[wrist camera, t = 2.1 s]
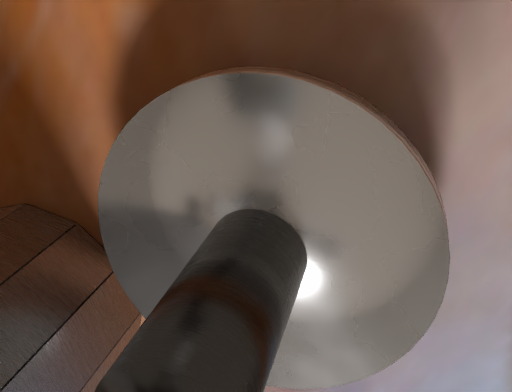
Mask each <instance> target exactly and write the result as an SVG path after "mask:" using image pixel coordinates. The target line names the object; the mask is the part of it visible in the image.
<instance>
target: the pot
mask: <svg viewBox="0 0 512 392" xmlns="http://www.w3.org/2000/svg"><path fill="white" fill-rule="evenodd" d="M140 321H141V313H140V312H139V310H138V309H137V308H136V307H135V305H134V304H133V303H132V302H131V300H130V299H129V297H128V296H127V294H126V293H125V291H124V290H123V288H122V287H121V285H120V283H119V281H118V279H117V277H116V275H115V273H114V271H113V270H112V267H111V265H110V262H109V259H108V257H107V254H106V252H105V249H104V248H103V247H102V246H101V245H100V244H99V243H98V242H97V241H96V240H95V239H94V238H93V237H92V236H90V235H89V234H88V233H87V232H86V231H85V230H84V229H83V228H82V227H81V226H80V225H79V224H77V225H76V222H73V221H70V220H68V219H65V218H62V217H60V216H57V215H54V214H52V213H49V212H46V211H44V210H41V209H39V208H36V207H33V206H31V205H28V204H21V205H16V206H10V207H5V208H0V392H95V389H96V387H97V385H98V384H99V382H100V381H101V379H102V378H103V377H104V375H105V374H106V373H107V371H108V370H109V369H110V367H111V366H112V364H113V363H114V362H115V360H116V359H117V358H118V356H119V355H120V354H121V352H122V351H123V350H124V348H125V347H126V346H127V344H128V343H129V341H130V340H131V339H132V337H133V336H134V335H135V333H136V332H137V331H138V329H139V328H140Z"/></svg>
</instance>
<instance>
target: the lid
mask: <svg viewBox="0 0 512 392" xmlns="http://www.w3.org/2000/svg"><path fill="white" fill-rule="evenodd" d="M98 218H99V225H100V233H101V237H102V241H103V244H104V248H105V252H106V254H107V257H108V259H109V262H110V265H111V267H112V270H113V271H114V273H115V275H116V277H117V279H118V281H119V283H120V285H121V287H122V288H123V290H124V291H125V293H126V294H127V296H128V297H129V299H130V300H131V302H132V303H133V304H134V305H135V307H136V308H137V309H138V310H139V312H140V313H141V314H142V315H143V317H144V318H145V319H146V320H145V321H144V323H143V324H142V325H141V327H140V328H139V329H138V331H137V332H136V333H135V335H134V336H133V337H132V339H131V340H130V341H129V343H128V344H127V346H126V347H125V348H124V350H123V351H122V352H121V354H120V355H119V356H118V358H117V359H116V360H115V362H114V363H113V364H112V366H111V367H110V369H109V370H108V371H107V373H106V374H105V375H104V377H103V378H102V379H101V381H100V382H99V384H98V385H97V387H96V389H95V392H263V391H264V388H265V386H272V387H278V388H289V389H318V388H327V387H333V386H340V385H344V384H347V383H351V382H354V381H358V380H361V379H363V378H366V377H368V376H371V375H373V374H375V373H378V372H379V371H381V370H383V369H385V368H386V367H388V366H390V365H391V364H393V363H395V362H396V361H397V360H398V359H400V358H401V357H402V356H404V355H405V354H406V353H407V352H409V351H410V350H411V349H412V348H413V347H414V345H415V344H416V343H417V342H418V341H419V340H420V339H421V338H422V337H423V336H424V334H425V333H426V331H427V330H428V328H429V327H430V325H431V324H432V322H433V321H434V319H435V317H436V314H437V312H438V310H439V308H440V305H441V303H442V301H443V298H444V294H445V290H446V286H447V282H448V275H449V263H450V252H449V240H448V229H447V219H446V215H445V210H444V206H443V202H442V198H441V195H440V192H439V190H438V187H437V185H436V183H435V180H434V178H433V175H432V173H431V171H430V170H429V168H428V166H427V165H426V163H425V161H424V159H423V158H422V156H421V154H420V153H419V151H418V150H417V149H416V147H415V146H414V145H413V144H412V142H411V141H410V140H409V139H408V137H407V136H406V135H405V134H404V133H403V131H402V130H401V129H400V128H399V127H397V126H396V125H395V124H394V123H393V122H392V121H391V120H390V119H389V118H388V117H387V116H386V115H385V114H384V113H383V112H381V111H380V110H378V109H377V108H376V107H374V106H373V105H371V104H370V103H369V102H367V101H366V100H365V99H363V98H362V97H360V96H358V95H356V94H355V93H353V92H351V91H349V90H347V89H345V88H343V87H342V86H340V85H338V84H335V83H333V82H330V81H328V80H325V79H322V78H320V77H317V76H314V75H312V74H307V73H303V72H299V71H295V70H290V69H286V68H276V67H265V66H250V67H233V68H228V69H223V70H217V71H212V72H209V73H206V74H203V75H201V76H198V77H195V78H192V79H190V80H188V81H186V82H184V83H182V84H180V85H178V86H176V87H174V88H172V89H171V90H169V91H167V92H165V93H164V94H162V95H160V96H158V97H157V98H155V99H154V100H153V101H151V102H150V103H149V104H147V105H146V106H145V107H143V108H142V109H141V110H139V112H138V113H137V114H136V115H135V116H134V117H133V118H132V119H131V120H130V121H129V122H128V123H127V124H126V125H125V127H124V128H123V130H122V131H121V132H120V134H119V135H118V137H117V138H116V140H115V141H114V143H113V145H112V147H111V149H110V152H109V154H108V156H107V158H106V161H105V164H104V167H103V171H102V174H101V178H100V185H99V192H98Z"/></svg>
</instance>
